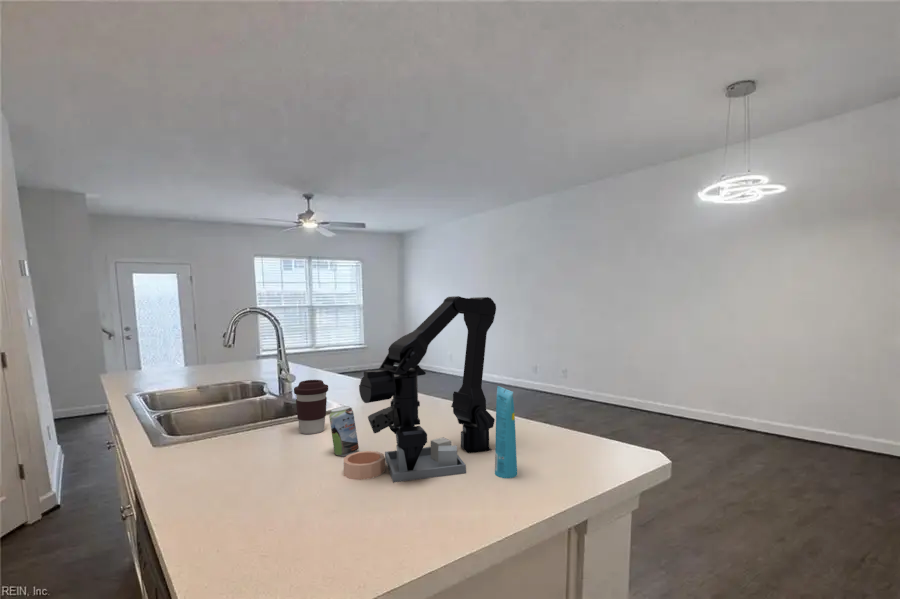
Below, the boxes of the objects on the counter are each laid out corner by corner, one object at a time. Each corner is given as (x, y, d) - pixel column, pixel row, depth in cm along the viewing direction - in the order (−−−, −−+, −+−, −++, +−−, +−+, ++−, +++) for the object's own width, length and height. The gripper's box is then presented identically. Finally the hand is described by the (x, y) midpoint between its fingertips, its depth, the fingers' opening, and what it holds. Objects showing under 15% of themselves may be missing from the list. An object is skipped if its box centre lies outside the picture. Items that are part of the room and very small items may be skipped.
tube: (524, 479, 94) (523, 390, 94) (505, 484, 92) (504, 392, 92) (505, 468, 101) (504, 384, 101) (487, 472, 99) (486, 386, 99)
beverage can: (352, 459, 108) (351, 411, 108) (325, 458, 110) (324, 410, 110) (362, 451, 114) (362, 405, 114) (336, 449, 116) (335, 404, 116)
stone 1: (413, 464, 103) (413, 442, 103) (416, 469, 100) (416, 447, 100) (396, 466, 102) (396, 444, 102) (399, 471, 99) (398, 449, 99)
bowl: (382, 463, 105) (381, 449, 105) (386, 478, 96) (386, 462, 96) (343, 468, 103) (343, 453, 103) (344, 483, 94) (344, 467, 94)
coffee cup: (310, 438, 126) (309, 385, 126) (287, 433, 131) (286, 382, 131) (335, 429, 135) (335, 380, 135) (313, 424, 140) (313, 377, 140)
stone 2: (443, 455, 109) (443, 437, 109) (451, 458, 106) (451, 440, 106) (430, 458, 107) (430, 440, 107) (438, 462, 104) (438, 443, 104)
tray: (449, 453, 111) (449, 444, 111) (466, 475, 97) (465, 464, 97) (385, 461, 107) (385, 451, 107) (393, 484, 93) (392, 473, 93)
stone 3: (457, 465, 102) (456, 445, 102) (457, 471, 98) (457, 450, 98) (439, 465, 102) (438, 445, 102) (438, 471, 98) (438, 451, 98)
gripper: (366, 390, 108) (367, 454, 108) (373, 408, 90) (375, 484, 90) (411, 387, 111) (412, 449, 111) (427, 404, 93) (428, 478, 93)
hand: (406, 464), depth 101 cm, fingers open, 9 cm apart
